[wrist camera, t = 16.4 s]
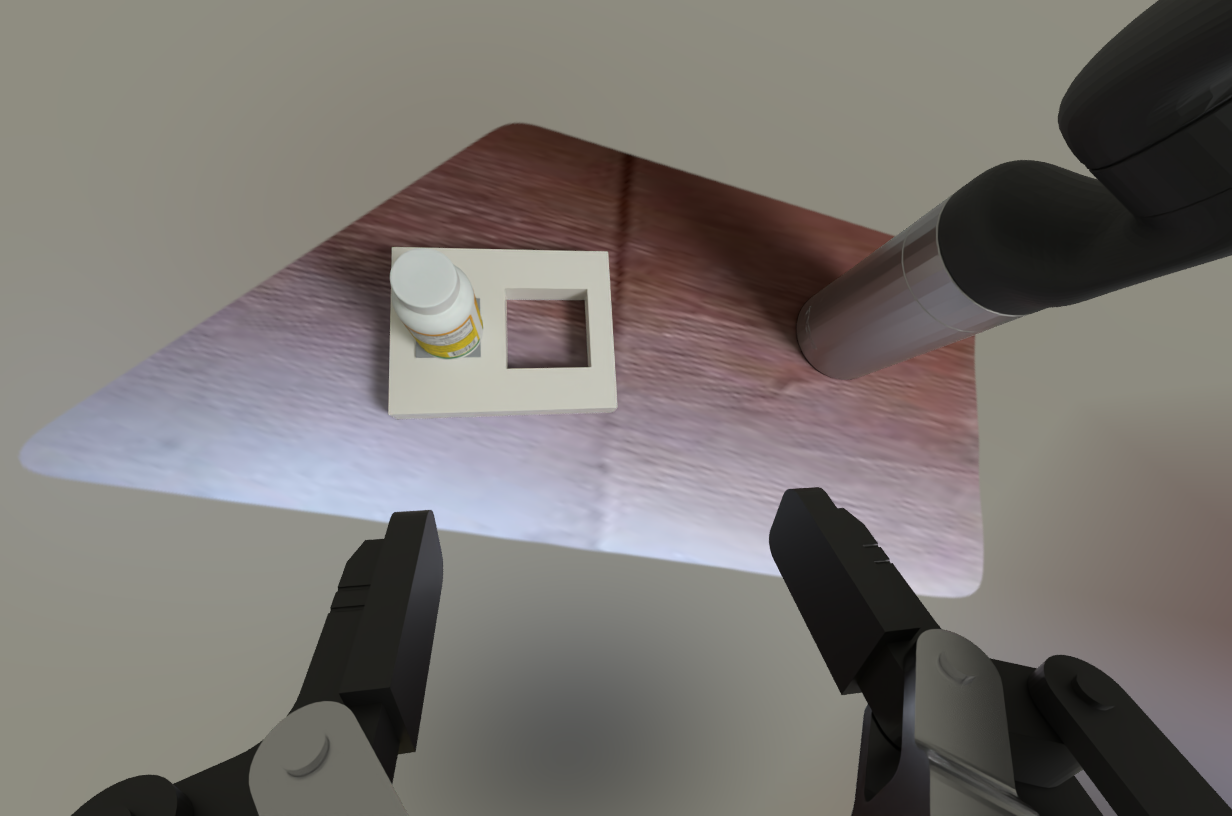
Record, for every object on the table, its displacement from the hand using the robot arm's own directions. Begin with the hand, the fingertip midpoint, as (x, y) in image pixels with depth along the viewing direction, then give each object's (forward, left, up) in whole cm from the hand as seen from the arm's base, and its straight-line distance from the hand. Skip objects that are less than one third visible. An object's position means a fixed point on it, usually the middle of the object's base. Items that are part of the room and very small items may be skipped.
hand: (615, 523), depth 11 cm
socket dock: (+4, -15, -31) cm, 34 cm away
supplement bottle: (+8, -14, -28) cm, 33 cm away
